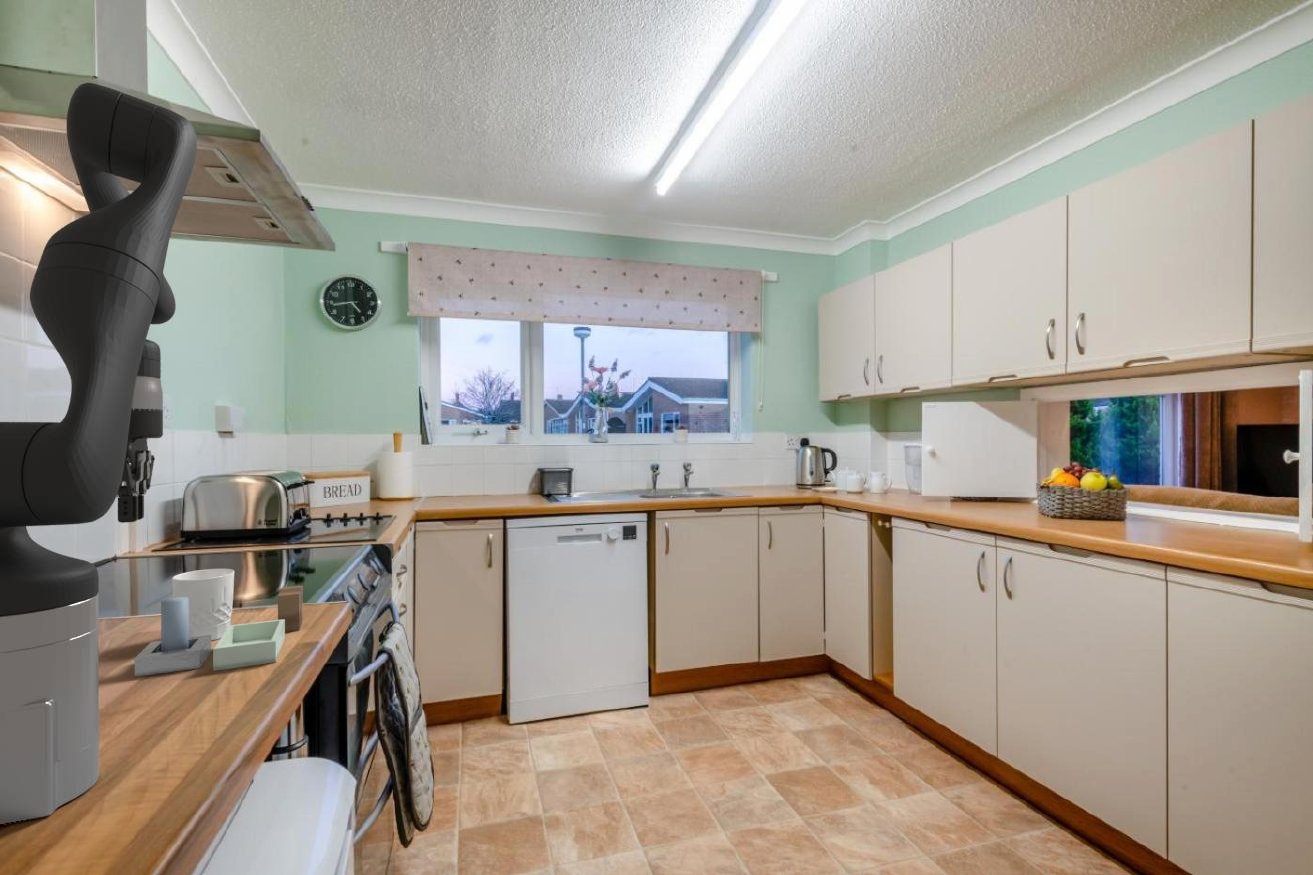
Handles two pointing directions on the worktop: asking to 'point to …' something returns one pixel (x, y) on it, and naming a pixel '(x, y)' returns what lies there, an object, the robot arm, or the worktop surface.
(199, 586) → the white cup
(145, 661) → the gray tray
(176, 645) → the slate-blue dowel
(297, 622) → the walnut block
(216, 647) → the pale green tray
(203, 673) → the worktop surface
